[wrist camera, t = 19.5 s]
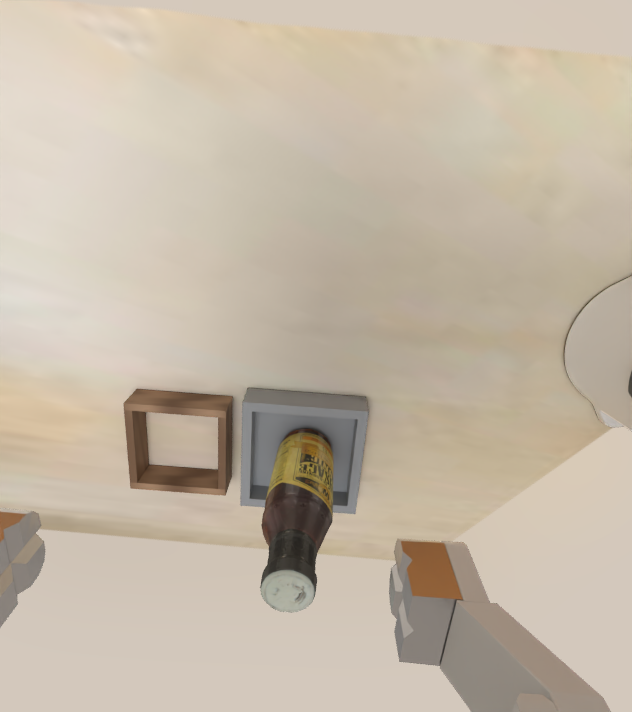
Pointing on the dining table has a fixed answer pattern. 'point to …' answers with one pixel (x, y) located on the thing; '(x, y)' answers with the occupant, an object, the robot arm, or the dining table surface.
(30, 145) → the dining table surface
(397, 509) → the dining table surface
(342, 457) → the grey tray
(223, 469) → the walnut collar
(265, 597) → the sauce bottle
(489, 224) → the dining table surface
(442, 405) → the dining table surface
